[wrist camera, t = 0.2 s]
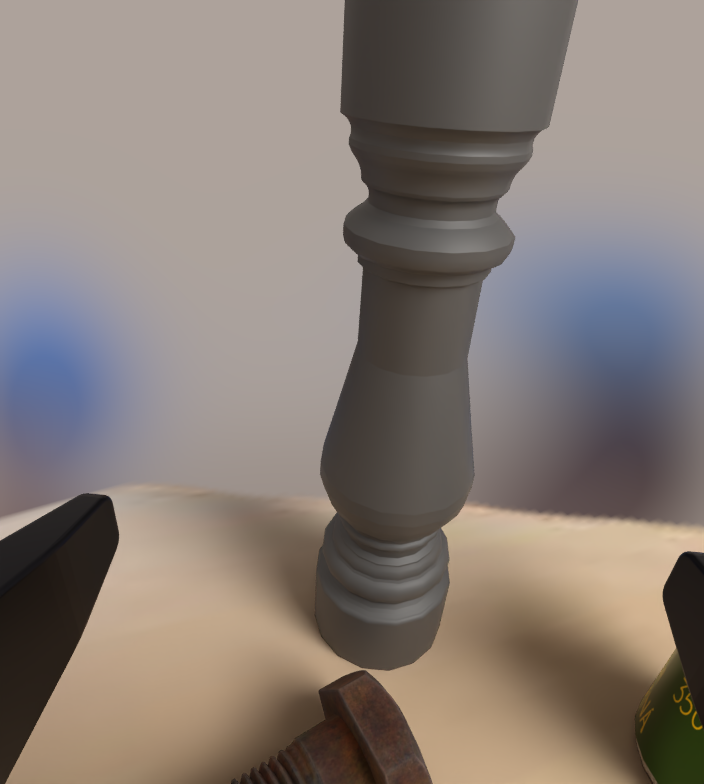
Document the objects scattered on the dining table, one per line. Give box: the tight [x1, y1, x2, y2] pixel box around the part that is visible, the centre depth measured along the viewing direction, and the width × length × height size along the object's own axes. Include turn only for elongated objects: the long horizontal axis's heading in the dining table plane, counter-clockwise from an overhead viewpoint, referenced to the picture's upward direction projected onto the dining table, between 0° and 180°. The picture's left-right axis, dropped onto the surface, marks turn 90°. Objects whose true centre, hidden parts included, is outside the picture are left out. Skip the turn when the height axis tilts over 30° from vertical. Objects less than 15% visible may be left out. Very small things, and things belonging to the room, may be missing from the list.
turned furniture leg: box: [315, 0, 578, 670], centre depth 20 cm, size 6×6×25 cm
